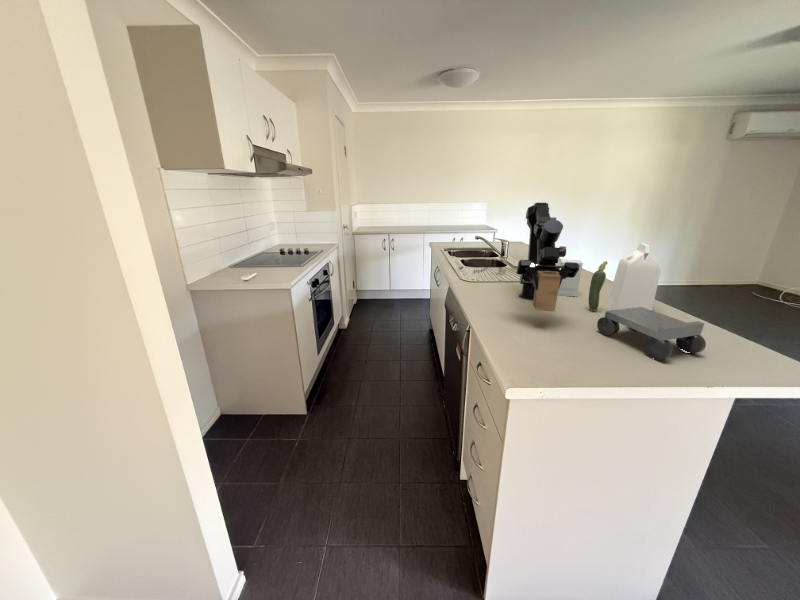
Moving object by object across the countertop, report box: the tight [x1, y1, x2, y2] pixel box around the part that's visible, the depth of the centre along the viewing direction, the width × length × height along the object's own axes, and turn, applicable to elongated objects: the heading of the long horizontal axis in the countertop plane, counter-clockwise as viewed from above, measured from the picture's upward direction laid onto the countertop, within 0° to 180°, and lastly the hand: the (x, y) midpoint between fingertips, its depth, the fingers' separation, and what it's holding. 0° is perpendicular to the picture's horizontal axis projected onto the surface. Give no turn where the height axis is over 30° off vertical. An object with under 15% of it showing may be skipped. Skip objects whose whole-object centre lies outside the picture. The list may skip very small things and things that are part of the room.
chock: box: [532, 271, 561, 313], centre depth 105 cm, size 6×6×12 cm
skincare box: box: [557, 259, 584, 297], centre depth 141 cm, size 8×7×16 cm
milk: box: [607, 242, 662, 311], centre depth 121 cm, size 12×12×26 cm
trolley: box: [596, 307, 707, 361], centre depth 96 cm, size 22×15×10 cm
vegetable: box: [587, 260, 608, 313], centre depth 121 cm, size 4×4×20 cm
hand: (547, 290), depth 104 cm, fingers closed on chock, 6 cm apart
